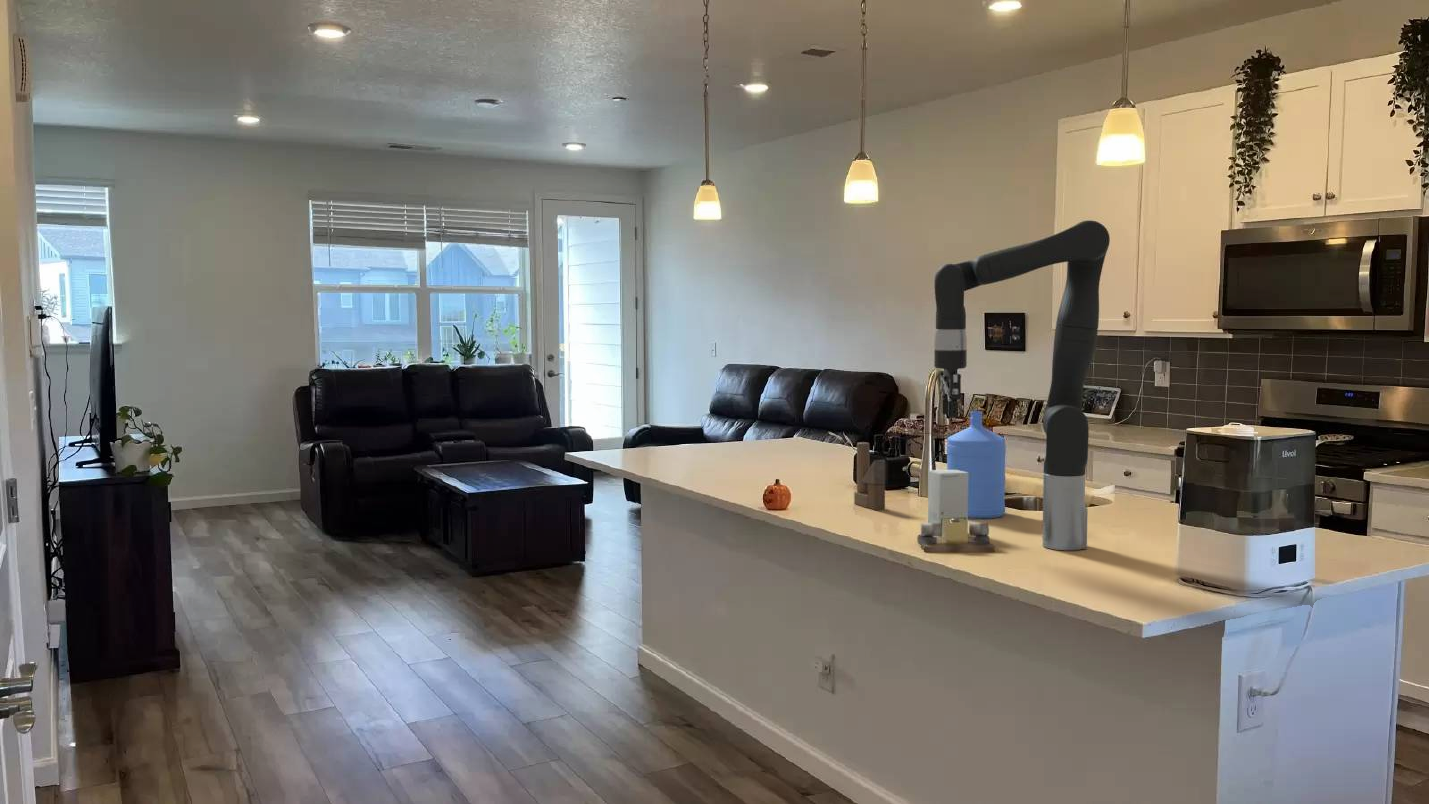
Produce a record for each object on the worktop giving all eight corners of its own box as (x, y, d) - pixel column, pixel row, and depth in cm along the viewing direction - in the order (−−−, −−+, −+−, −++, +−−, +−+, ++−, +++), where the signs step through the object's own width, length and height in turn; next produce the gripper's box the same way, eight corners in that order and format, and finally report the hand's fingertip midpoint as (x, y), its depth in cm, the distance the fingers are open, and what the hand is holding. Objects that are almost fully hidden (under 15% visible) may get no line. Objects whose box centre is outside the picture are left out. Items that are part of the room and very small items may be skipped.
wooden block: (874, 510, 288) (874, 446, 287) (853, 504, 298) (853, 442, 296) (885, 509, 290) (885, 445, 288) (864, 503, 299) (864, 441, 298)
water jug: (1008, 520, 273) (1009, 414, 270) (947, 519, 275) (948, 414, 273) (1001, 509, 288) (1002, 409, 286) (944, 508, 291) (944, 409, 288)
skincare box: (938, 536, 254) (939, 473, 253) (926, 531, 260) (926, 469, 259) (969, 534, 256) (969, 471, 255) (956, 528, 262) (956, 468, 261)
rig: (984, 541, 247) (984, 518, 247) (994, 552, 236) (994, 527, 236) (915, 541, 248) (915, 518, 248) (922, 552, 237) (922, 527, 237)
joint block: (963, 539, 245) (963, 516, 244) (967, 543, 240) (967, 521, 239) (942, 539, 245) (942, 516, 244) (945, 543, 240) (946, 521, 239)
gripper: (972, 349, 239) (971, 418, 240) (960, 347, 253) (960, 413, 255) (939, 349, 240) (939, 419, 241) (930, 347, 254) (929, 413, 255)
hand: (950, 415), depth 248 cm, fingers open, 8 cm apart
